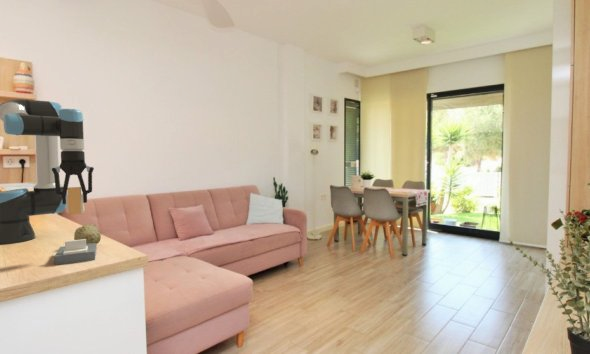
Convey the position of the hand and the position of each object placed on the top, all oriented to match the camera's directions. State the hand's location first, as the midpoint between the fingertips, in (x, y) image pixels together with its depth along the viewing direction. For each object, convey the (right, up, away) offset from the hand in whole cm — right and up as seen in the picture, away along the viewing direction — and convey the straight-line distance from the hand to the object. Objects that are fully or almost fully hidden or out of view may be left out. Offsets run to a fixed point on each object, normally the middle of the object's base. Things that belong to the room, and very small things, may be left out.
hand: (75, 211), depth 128 cm
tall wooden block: (0, -1, 0) cm, 1 cm away
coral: (-5, -16, +15) cm, 23 cm away
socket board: (+2, -17, -2) cm, 17 cm away
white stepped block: (+3, -14, -5) cm, 15 cm away
